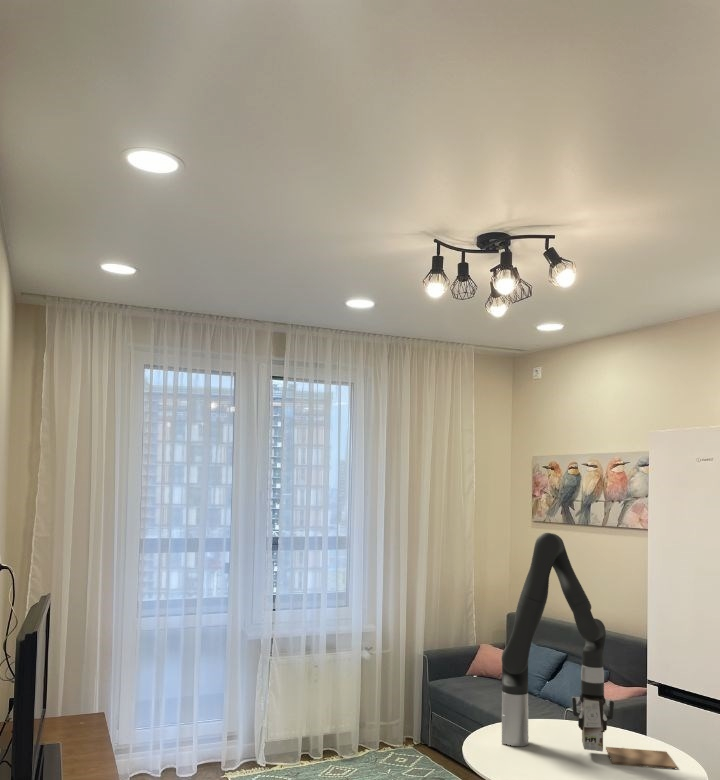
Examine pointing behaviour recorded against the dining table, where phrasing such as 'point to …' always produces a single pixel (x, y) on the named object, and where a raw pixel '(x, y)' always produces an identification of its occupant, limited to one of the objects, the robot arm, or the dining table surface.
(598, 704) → the coffee box
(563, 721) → the dining table surface
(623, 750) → the walnut board
